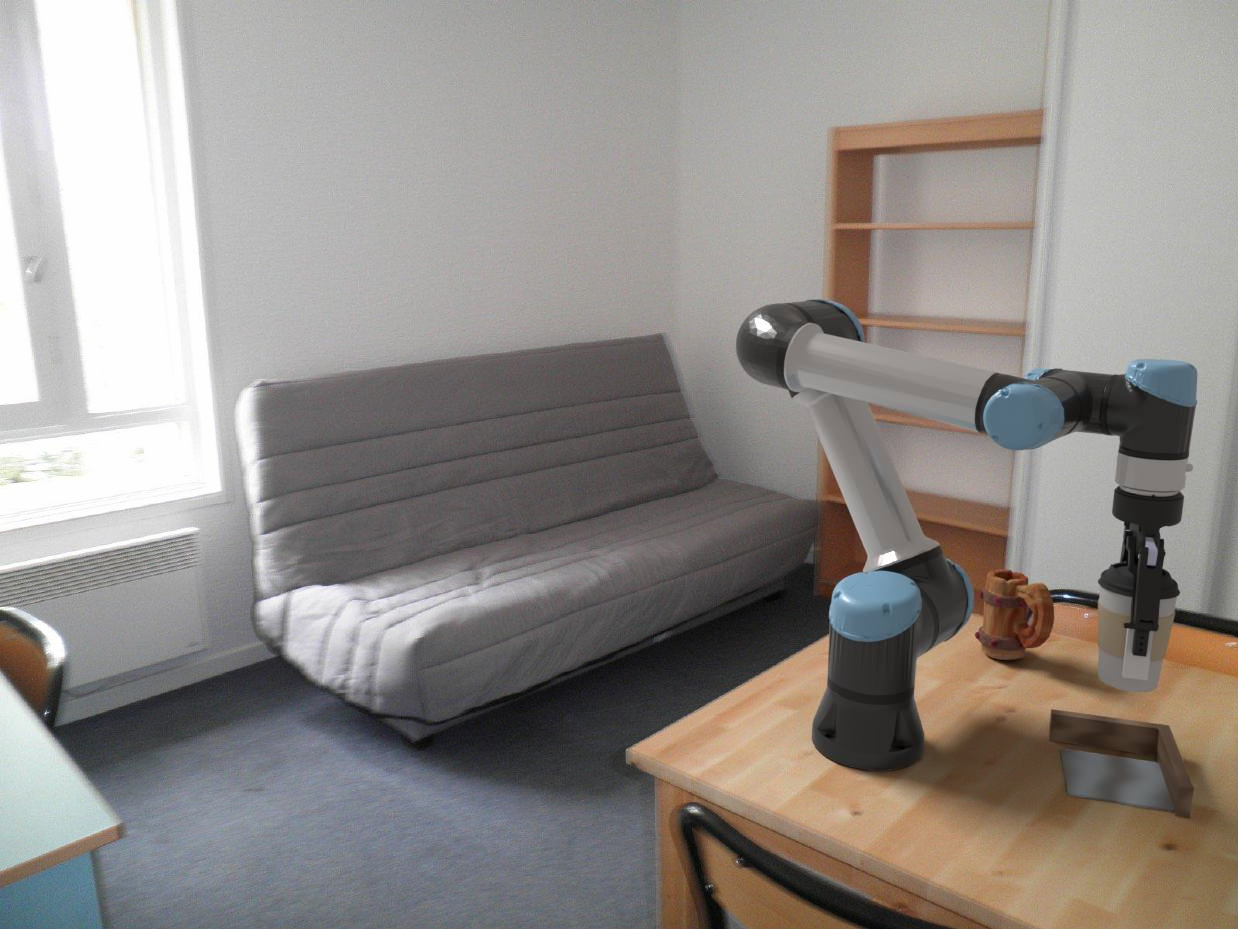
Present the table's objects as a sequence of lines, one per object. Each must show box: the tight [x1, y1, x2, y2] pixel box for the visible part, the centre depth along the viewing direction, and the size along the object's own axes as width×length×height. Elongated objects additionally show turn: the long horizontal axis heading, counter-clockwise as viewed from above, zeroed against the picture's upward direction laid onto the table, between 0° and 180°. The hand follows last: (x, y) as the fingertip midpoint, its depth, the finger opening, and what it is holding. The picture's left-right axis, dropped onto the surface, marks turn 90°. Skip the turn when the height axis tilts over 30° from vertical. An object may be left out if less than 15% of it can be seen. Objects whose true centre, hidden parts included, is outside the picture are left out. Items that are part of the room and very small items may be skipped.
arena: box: [1048, 708, 1195, 819], centre depth 130 cm, size 15×17×4 cm
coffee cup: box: [1097, 561, 1181, 693], centre depth 124 cm, size 9×9×15 cm
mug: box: [974, 568, 1055, 661], centre depth 164 cm, size 15×8×15 cm, turn 17°
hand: (1129, 662), depth 125 cm, fingers closed on coffee cup, 8 cm apart
